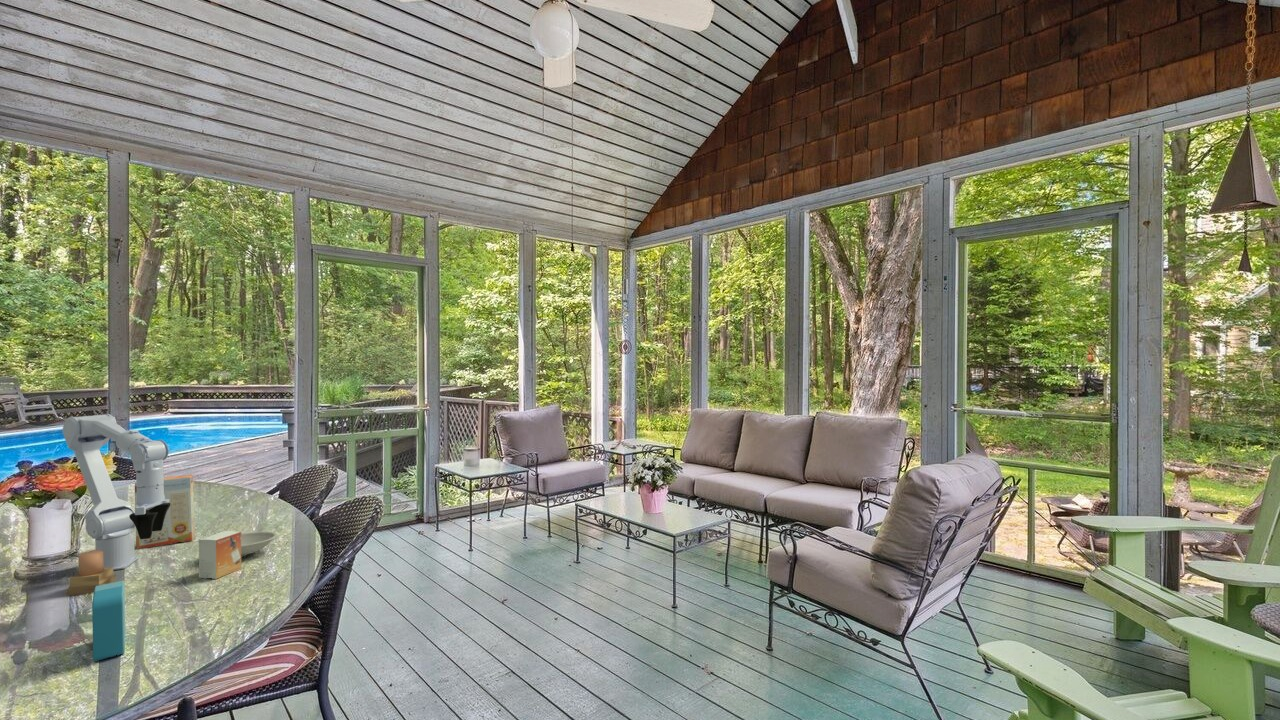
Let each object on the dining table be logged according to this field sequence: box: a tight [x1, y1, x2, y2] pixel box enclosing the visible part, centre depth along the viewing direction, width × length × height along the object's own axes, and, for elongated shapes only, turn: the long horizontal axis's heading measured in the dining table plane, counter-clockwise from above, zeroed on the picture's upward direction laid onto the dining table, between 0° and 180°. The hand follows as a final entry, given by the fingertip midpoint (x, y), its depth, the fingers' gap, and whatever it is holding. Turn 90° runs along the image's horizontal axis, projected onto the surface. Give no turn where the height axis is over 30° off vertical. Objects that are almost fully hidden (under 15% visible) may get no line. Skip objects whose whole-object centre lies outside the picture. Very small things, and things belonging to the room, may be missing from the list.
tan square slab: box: [66, 574, 116, 597], centre depth 148 cm, size 7×7×2 cm
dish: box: [241, 531, 278, 558], centre depth 171 cm, size 18×14×5 cm
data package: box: [91, 580, 126, 662], centre depth 117 cm, size 12×4×12 cm, turn 41°
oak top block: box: [69, 567, 114, 588], centre depth 148 cm, size 6×6×2 cm
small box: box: [198, 530, 242, 580], centre depth 157 cm, size 8×6×10 cm
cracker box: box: [134, 474, 196, 550], centre depth 184 cm, size 14×6×21 cm, turn 121°
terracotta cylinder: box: [77, 549, 104, 576], centre depth 148 cm, size 5×5×5 cm
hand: (151, 534), depth 159 cm, fingers open, 7 cm apart
